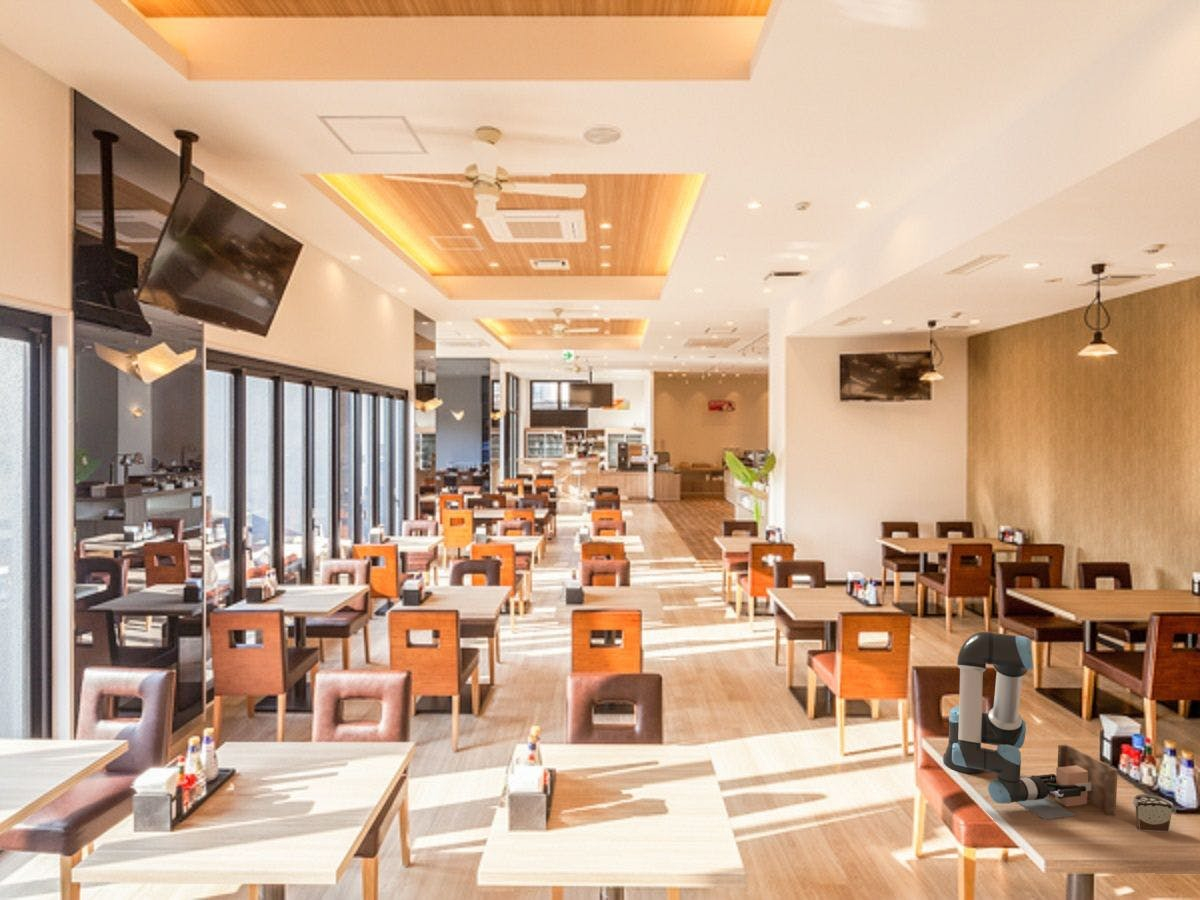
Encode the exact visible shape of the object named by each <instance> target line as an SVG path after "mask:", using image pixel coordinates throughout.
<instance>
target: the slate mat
mask: <svg viewBox="0 0 1200 900" xmlns="http://www.w3.org/2000/svg"><path fill="white" fill-rule="evenodd" d="M1015 803H1016V804H1018V805H1020V806H1021V807H1023V808H1024V809H1025V810H1027V809H1028V811H1029V812H1031V813H1032V814H1034V815H1035V814H1036V815H1035V816H1037V817H1038V818H1040V817H1041V818H1040V819H1042V820H1043V819H1047V820H1053V819H1054V818H1055V819H1061V818H1062V817H1064V818H1071V817H1075V816H1076V814H1075V813H1073V812H1071V811H1070V810H1068V809H1066V808H1065V807H1063V806H1061V805H1060V804H1058V803H1056V802H1055V801H1053V800H1051V799H1049V798H1048V797H1047V796H1046V797H1045V798H1044V799H1039V800H1029V801H1024V802H1023V801H1020V802H1015ZM1062 819H1063V818H1062Z"/></svg>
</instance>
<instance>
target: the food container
mask: <svg viewBox="0 0 1200 900" xmlns="http://www.w3.org/2000/svg"><path fill="white" fill-rule="evenodd" d="M1132 805H1133V806H1134V807H1135V815H1136V816H1135V820H1136V828H1137V830H1138V831H1147V832H1158V833H1169V832H1170V826H1171V819H1172V815H1173V814H1172V813H1173V810H1175V805H1174V803H1173V802H1172V801H1170V800H1168V799H1166V798H1163V797H1160V796H1157V795H1153V794H1143V793H1142V794H1136V795H1135V796H1134V798H1133V801H1132Z"/></svg>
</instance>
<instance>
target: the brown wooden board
mask: <svg viewBox="0 0 1200 900" xmlns="http://www.w3.org/2000/svg"><path fill="white" fill-rule="evenodd" d="M1076 765H1077V766H1079V767H1081V768H1083V769H1085V770H1087V771H1088V782H1090V783H1091V791H1088V792H1087V802H1090V803H1091V804H1093V805H1095V806H1097V807H1099V808H1100V809H1101V810H1102V809H1103V810H1104V815H1106V816H1108V817H1109V816H1115V815H1116V813H1117V793H1118V791H1117V790H1118V774H1119V773H1118V770H1119V769H1117V768H1114V767H1112V766H1111V765H1108V764H1107V763H1105V762H1102V761H1100V760H1098V759H1097V758H1095V757H1092V756H1091V755H1089V754H1087V753H1085V752H1082V751H1080V750H1078V749H1077V748H1074V747H1073V746H1070V745H1068V744H1066V743H1065V744H1058V746H1057V767H1066V766H1076Z"/></svg>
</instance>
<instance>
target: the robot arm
mask: <svg viewBox="0 0 1200 900" xmlns="http://www.w3.org/2000/svg"><path fill="white" fill-rule="evenodd" d="M1031 642H1032V640H1031V639H1030V638H1029V637H1027V636H1023V635H1019V634H1015V635H1014V634H1009V633H1008V634H1006V633H999V632H998V633H996V632H989V631H978V632H976V633H973V634H971V636H969V637H968V638H966V640H965V641H964V642H963V643H962V646H961V647H960V649H959V651H958V655H957V662H956V663H957V664H956V665H957V667H958V669H959V699H958V700H959V702H958V705H957V706H954V707H952V708H951V709H950V711H949V718H948V721H949V724H948V725H949V727H948V743H947V746H946V749H945V752H944V753H943V755H942V758H943V759H942V761H943V762H942V763H943V764H944V765H945V766H946V767H947V768H949V769H951V770H954V771H957V772H959V773H967V774H980V773H983V772H985V771H988V772H993V773H995V780H992V781H990V782H989V784H988V785H987V792H988V794H989V796H990V798H991V799H992V801H994V802H995V803H997V804H1011V803H1016V802H1020V801H1023V802H1024V801H1029V800H1039V799H1044V798H1045V797H1046V798H1047V796H1048V795H1049V796H1055V795H1057V796H1058V798H1059V799H1062V798H1066V797H1076V796H1081V792H1083V791H1091V783H1090V782H1088V783H1079V784H1075V785H1058V784H1057V783H1056V773H1055V774H1054V773H1050V774H1049V773H1048V774H1041V775H1031V776H1030V777H1029V776H1027V777H1021V769H1022V768H1021V767H1022V754H1021V751H1020V749H1021V748H1022V747H1023V746H1024V743H1025V739H1026V733H1027V731H1026V730H1027V724H1026V721H1025V719H1023V718H1022V716H1021V714H1020V713H1019V711H1020V702H1021V692H1022V683H1023V677H1024V676H1025V675H1026V674H1027V673H1028V671H1030V670H1033V669H1034V662H1033V652H1032V643H1031ZM987 665H991V666H992V667H993V668H994V670H995V671H996V676H995V688H994V698H993V707H992V708H991V709H989V712H988V713H986V712H983V682H984V681H983V676H984V672H985V671H986V670H987ZM982 744H985V745H989V746H996V747H997V748H996V749H992V748H991V749H990V748H986V747H982Z"/></svg>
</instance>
